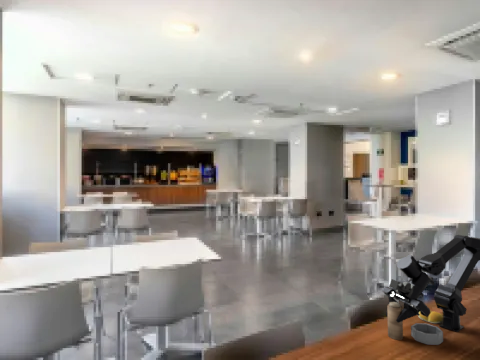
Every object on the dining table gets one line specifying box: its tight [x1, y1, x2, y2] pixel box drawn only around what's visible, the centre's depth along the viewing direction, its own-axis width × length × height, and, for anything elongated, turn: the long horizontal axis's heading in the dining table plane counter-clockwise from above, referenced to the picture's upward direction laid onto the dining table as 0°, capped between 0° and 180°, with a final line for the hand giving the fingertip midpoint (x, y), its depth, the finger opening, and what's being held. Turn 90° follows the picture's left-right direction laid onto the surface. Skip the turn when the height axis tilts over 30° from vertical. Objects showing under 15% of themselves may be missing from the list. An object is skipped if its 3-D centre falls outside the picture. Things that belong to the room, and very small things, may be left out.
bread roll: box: [417, 309, 443, 324], centre depth 136 cm, size 8×9×4 cm
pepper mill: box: [386, 302, 404, 341], centre depth 121 cm, size 5×5×12 cm
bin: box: [410, 322, 444, 346], centre depth 119 cm, size 9×9×4 cm
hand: (391, 318), depth 121 cm, fingers closed on pepper mill, 5 cm apart
